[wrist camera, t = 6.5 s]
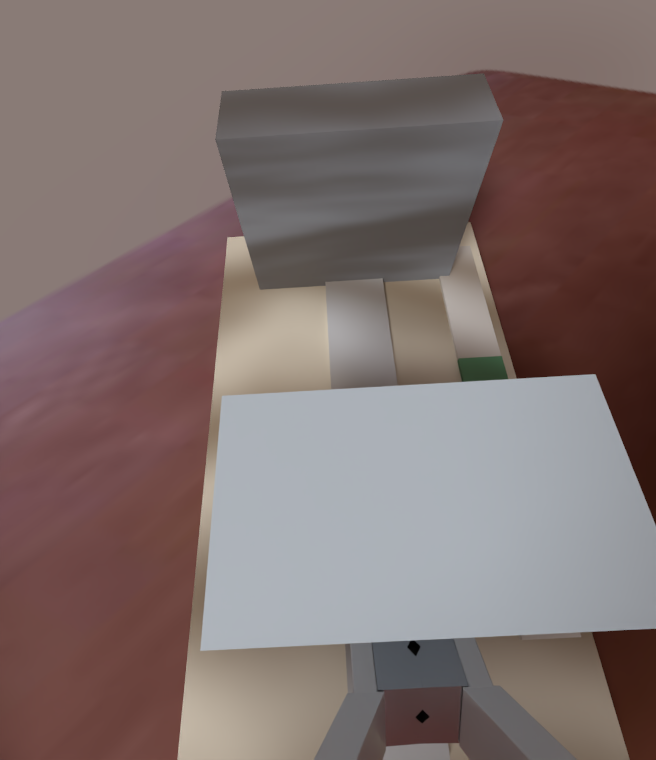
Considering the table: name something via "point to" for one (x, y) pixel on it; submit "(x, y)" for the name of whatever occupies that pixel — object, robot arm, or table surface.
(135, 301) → the table surface
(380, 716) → the robot arm
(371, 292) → the bench
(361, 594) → the gauge slider
